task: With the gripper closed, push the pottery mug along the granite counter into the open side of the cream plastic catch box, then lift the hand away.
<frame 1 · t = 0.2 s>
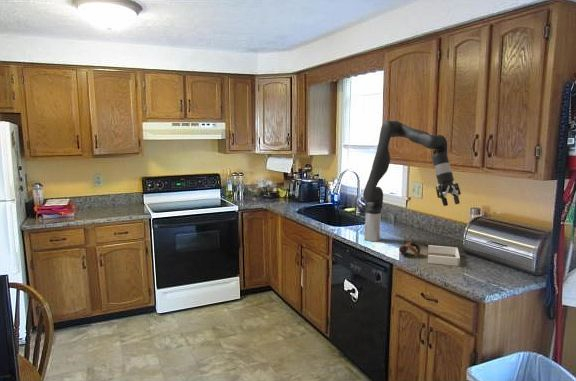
hand: (451, 204, 197), 31 cm above the countertop, tool tilted 20°, fingers open, 8 cm apart
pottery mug: (408, 255, 218), on the countertop
catch box: (441, 258, 213), on the countertop
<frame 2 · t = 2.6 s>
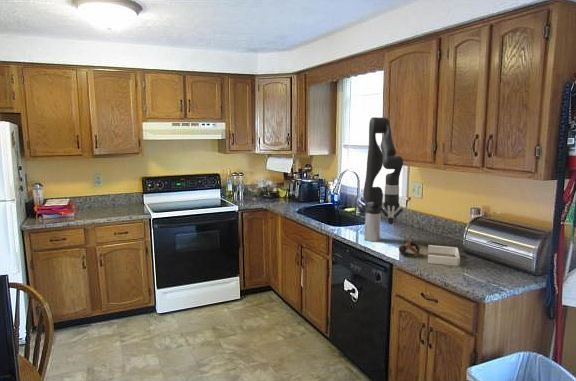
hand: (390, 224, 219), 17 cm above the countertop, tool pointing down, fingers closed
nothing on the countertop moved.
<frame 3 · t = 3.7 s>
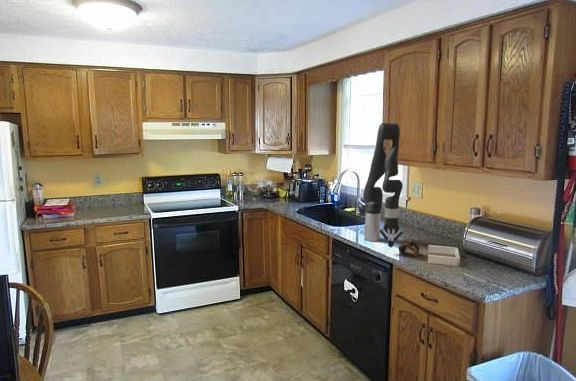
hand: (390, 247, 221), 4 cm above the countertop, tool pointing down, fingers closed
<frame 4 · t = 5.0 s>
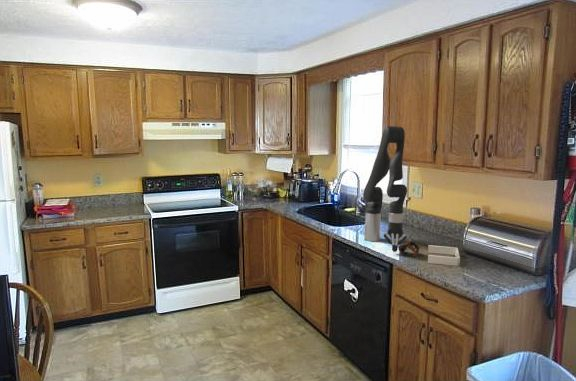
hand: (394, 251, 220), 2 cm above the countertop, tool pointing down, fingers closed
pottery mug: (407, 255, 220), on the countertop, touching gripper
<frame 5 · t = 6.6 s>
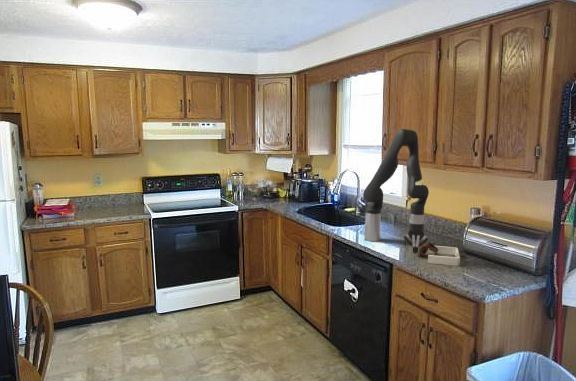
hand: (415, 253, 217), 2 cm above the countertop, tool pointing down, fingers closed
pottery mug: (426, 256, 217), on the countertop, touching gripper
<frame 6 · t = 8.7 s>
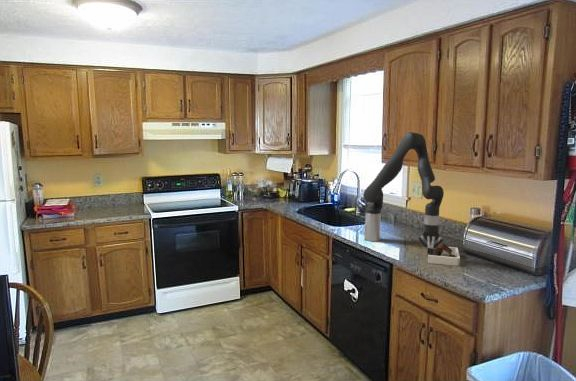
hand: (430, 254, 214), 2 cm above the countertop, tool pointing down, fingers closed
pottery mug: (440, 257, 215), resting in catch box
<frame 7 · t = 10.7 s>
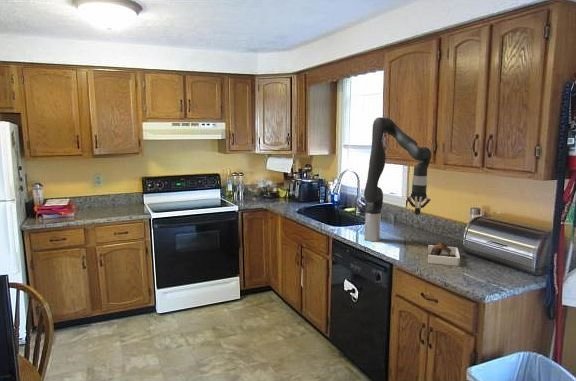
hand: (417, 214, 222), 21 cm above the countertop, tool pointing down, fingers closed
nothing on the countertop moved.
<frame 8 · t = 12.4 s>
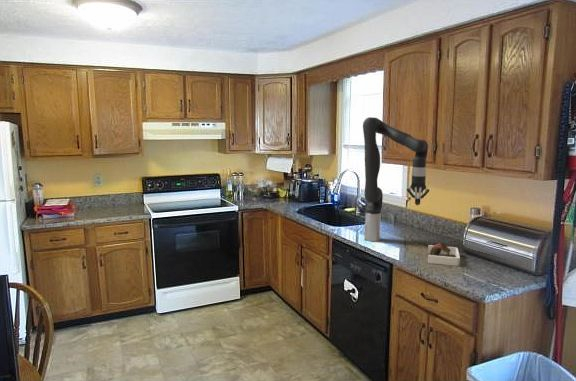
hand: (417, 204, 230), 25 cm above the countertop, tool pointing down, fingers closed
at the end: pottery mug inside the target area on the catch box (4.2 cm from its centre), point 0.0 cm above the catch box's base; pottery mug tilted 0° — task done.
